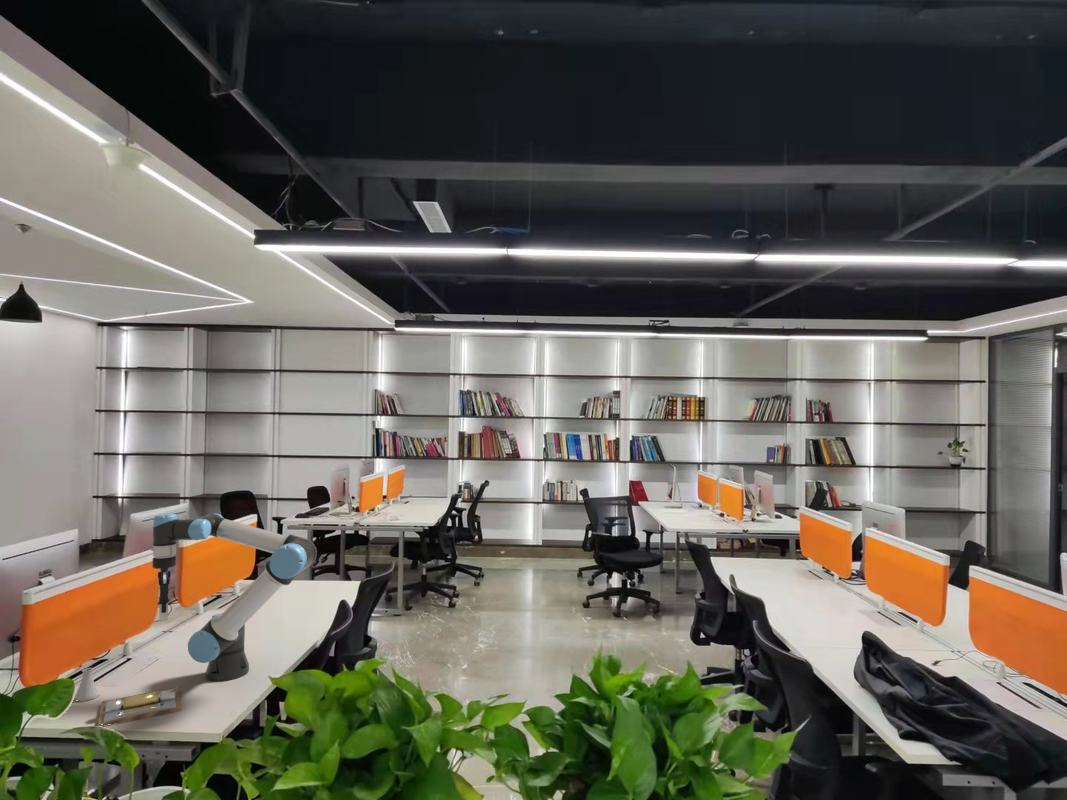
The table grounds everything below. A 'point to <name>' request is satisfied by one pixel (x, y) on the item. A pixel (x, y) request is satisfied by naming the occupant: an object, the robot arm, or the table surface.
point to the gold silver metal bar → (140, 700)
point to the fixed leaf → (115, 707)
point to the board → (178, 708)
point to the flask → (86, 687)
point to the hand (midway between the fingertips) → (163, 620)
